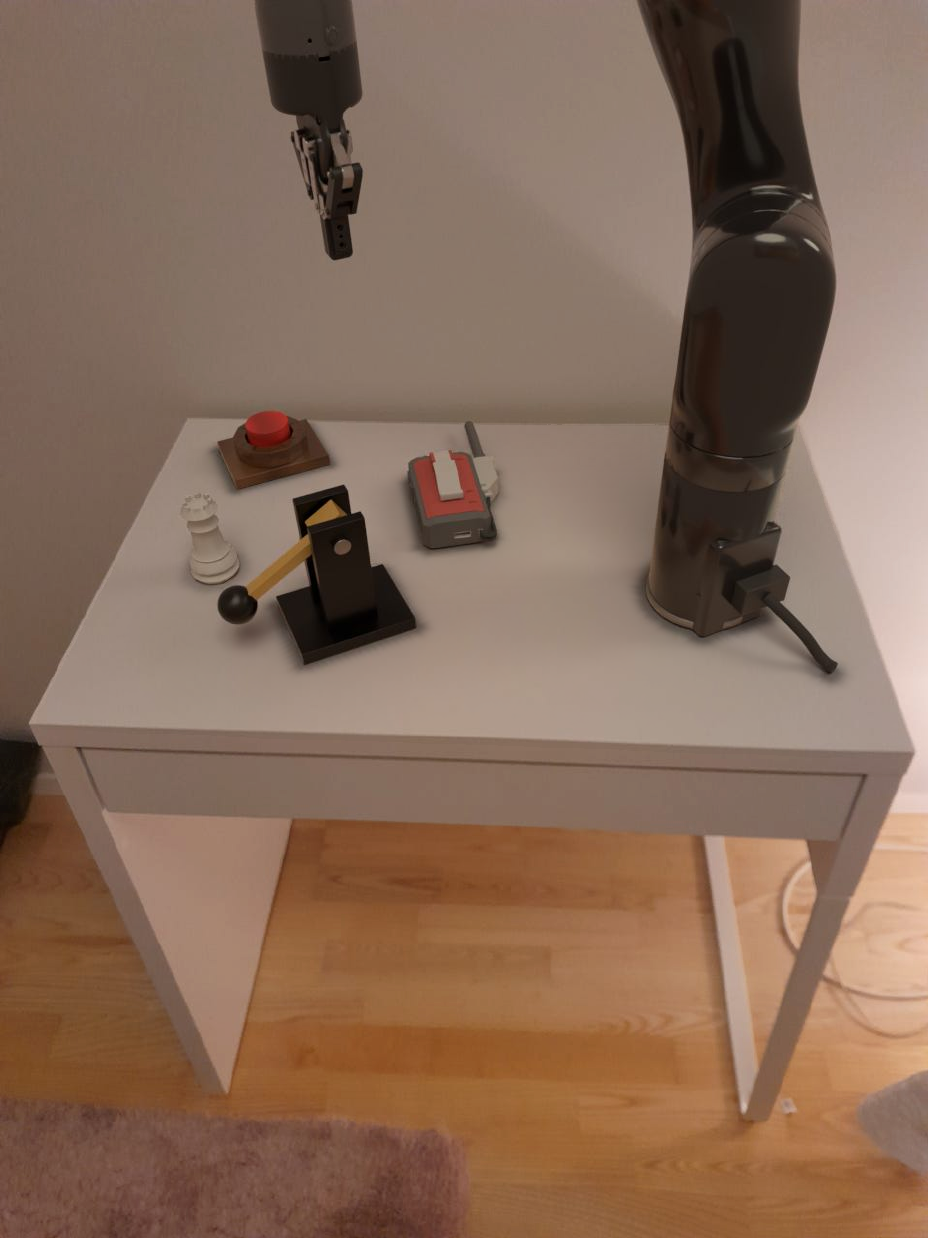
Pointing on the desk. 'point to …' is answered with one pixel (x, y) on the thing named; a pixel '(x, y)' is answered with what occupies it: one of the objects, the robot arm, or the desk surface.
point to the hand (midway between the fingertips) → (339, 255)
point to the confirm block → (272, 455)
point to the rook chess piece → (208, 541)
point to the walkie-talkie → (454, 495)
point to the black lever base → (340, 585)
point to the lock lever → (270, 574)
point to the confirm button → (267, 429)
